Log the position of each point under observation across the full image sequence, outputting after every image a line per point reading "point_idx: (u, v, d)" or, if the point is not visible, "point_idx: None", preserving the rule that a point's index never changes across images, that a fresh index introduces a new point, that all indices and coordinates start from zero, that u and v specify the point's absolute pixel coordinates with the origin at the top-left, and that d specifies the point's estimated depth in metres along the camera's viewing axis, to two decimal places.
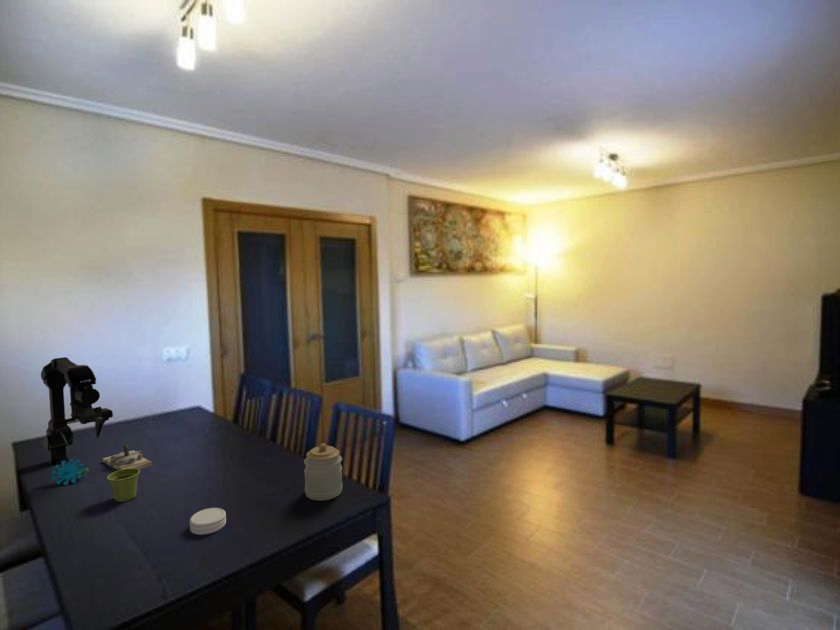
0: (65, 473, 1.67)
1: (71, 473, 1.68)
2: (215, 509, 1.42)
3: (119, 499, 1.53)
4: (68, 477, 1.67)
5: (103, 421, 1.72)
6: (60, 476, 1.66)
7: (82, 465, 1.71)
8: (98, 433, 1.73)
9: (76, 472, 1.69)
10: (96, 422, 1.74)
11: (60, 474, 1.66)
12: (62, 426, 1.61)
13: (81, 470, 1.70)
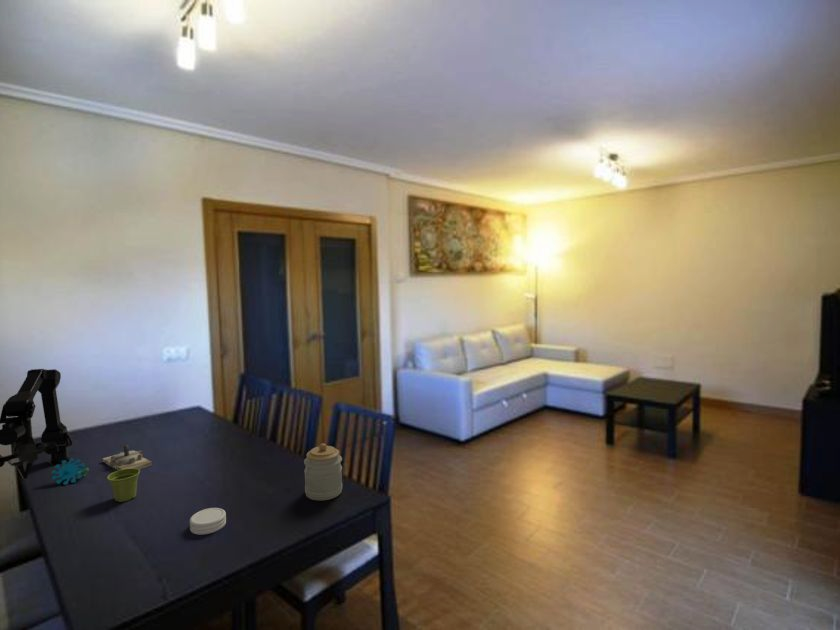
0: (65, 473, 1.67)
1: (71, 473, 1.68)
2: (215, 509, 1.42)
3: (119, 499, 1.53)
4: (68, 477, 1.67)
5: (31, 460, 1.57)
6: (60, 476, 1.66)
7: (82, 465, 1.71)
8: (26, 474, 1.58)
9: (76, 472, 1.69)
10: (24, 462, 1.58)
11: (60, 473, 1.67)
12: None
13: (81, 470, 1.70)
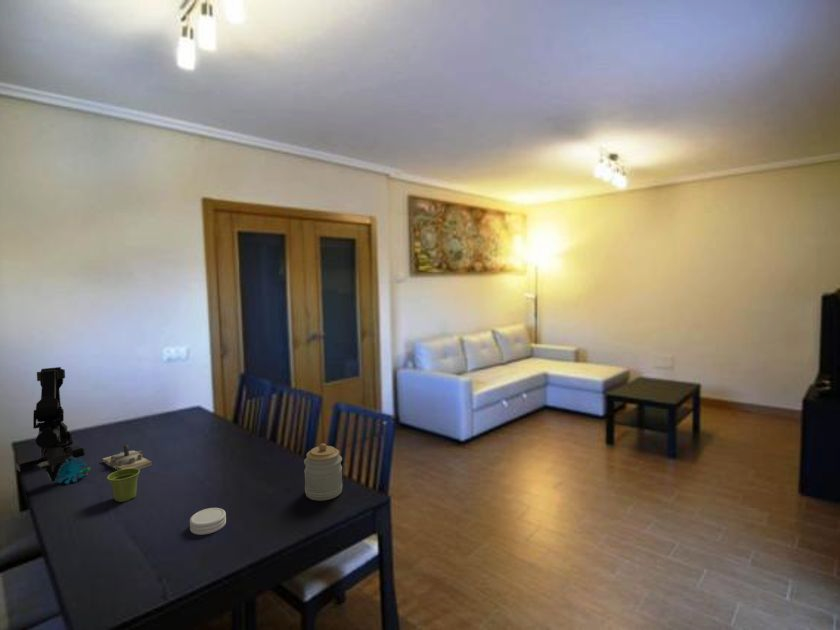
0: (67, 472, 1.68)
1: (73, 472, 1.69)
2: (215, 509, 1.42)
3: (119, 499, 1.53)
4: (69, 476, 1.68)
5: (59, 464, 1.64)
6: (62, 475, 1.67)
7: (84, 464, 1.72)
8: (54, 477, 1.64)
9: (78, 471, 1.69)
10: (52, 465, 1.65)
11: (62, 472, 1.67)
12: (29, 468, 1.56)
13: (83, 469, 1.70)
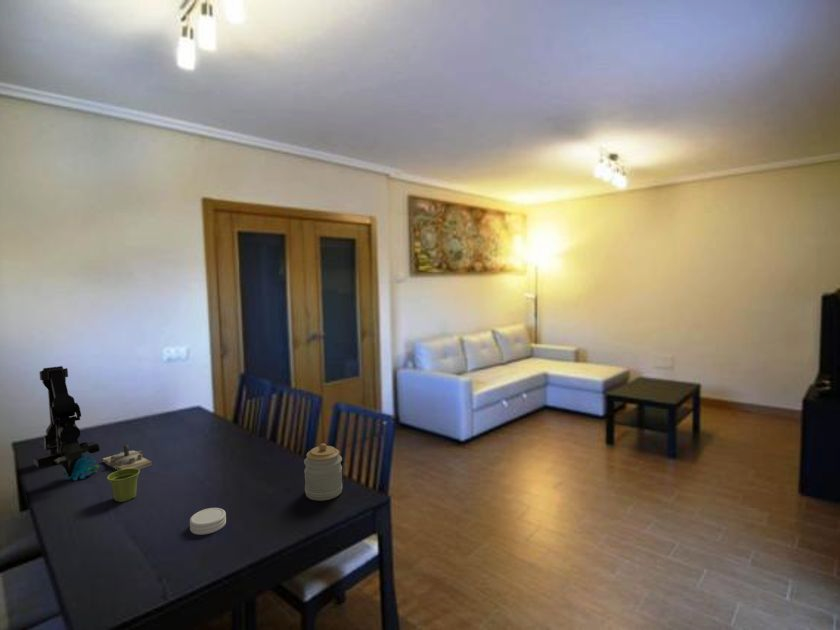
0: (76, 468, 1.71)
1: (81, 469, 1.72)
2: (215, 509, 1.42)
3: (119, 499, 1.53)
4: (78, 473, 1.70)
5: (75, 459, 1.67)
6: None
7: (93, 461, 1.74)
8: (70, 472, 1.68)
9: (86, 468, 1.72)
10: (69, 460, 1.69)
11: None
12: (47, 463, 1.60)
13: (91, 466, 1.73)
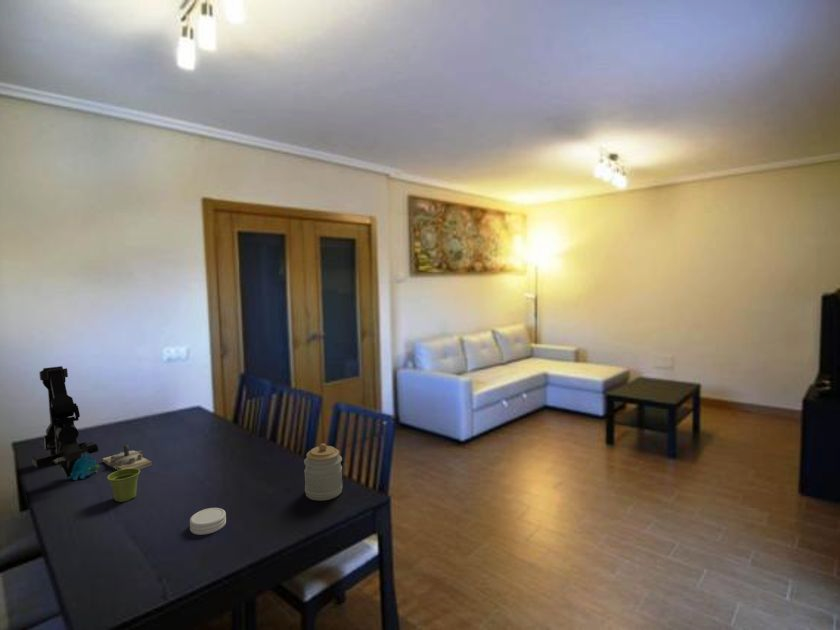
0: (76, 468, 1.71)
1: (82, 469, 1.72)
2: (215, 509, 1.42)
3: (119, 499, 1.53)
4: (78, 472, 1.71)
5: (74, 459, 1.67)
6: None
7: (93, 461, 1.74)
8: (69, 472, 1.68)
9: (86, 468, 1.72)
10: (67, 461, 1.69)
11: None
12: (46, 463, 1.60)
13: (91, 466, 1.73)
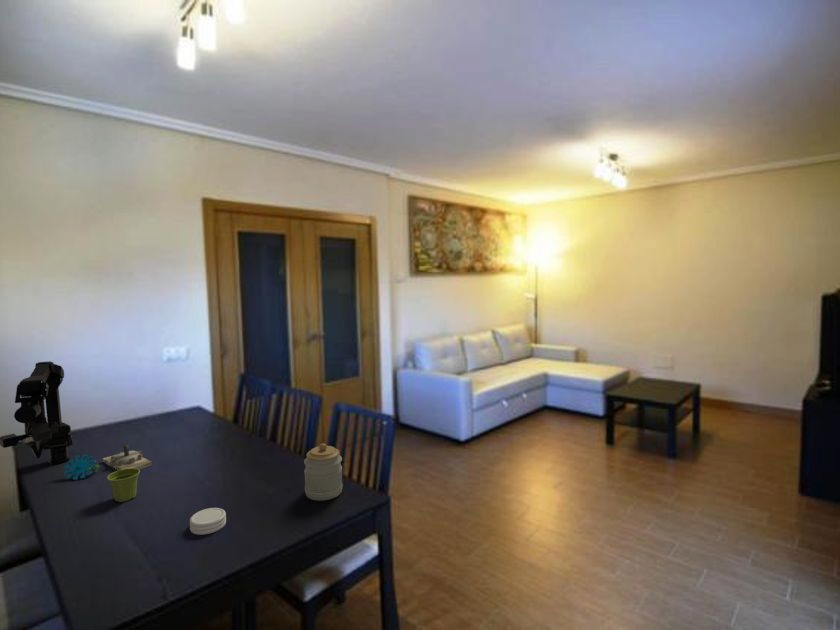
0: (76, 468, 1.71)
1: (82, 468, 1.72)
2: (215, 509, 1.42)
3: (119, 499, 1.53)
4: (78, 472, 1.71)
5: (44, 440, 1.60)
6: (71, 471, 1.71)
7: (93, 461, 1.74)
8: (39, 453, 1.60)
9: (86, 468, 1.72)
10: (37, 441, 1.61)
11: (72, 468, 1.71)
12: (13, 443, 1.53)
13: (91, 466, 1.73)
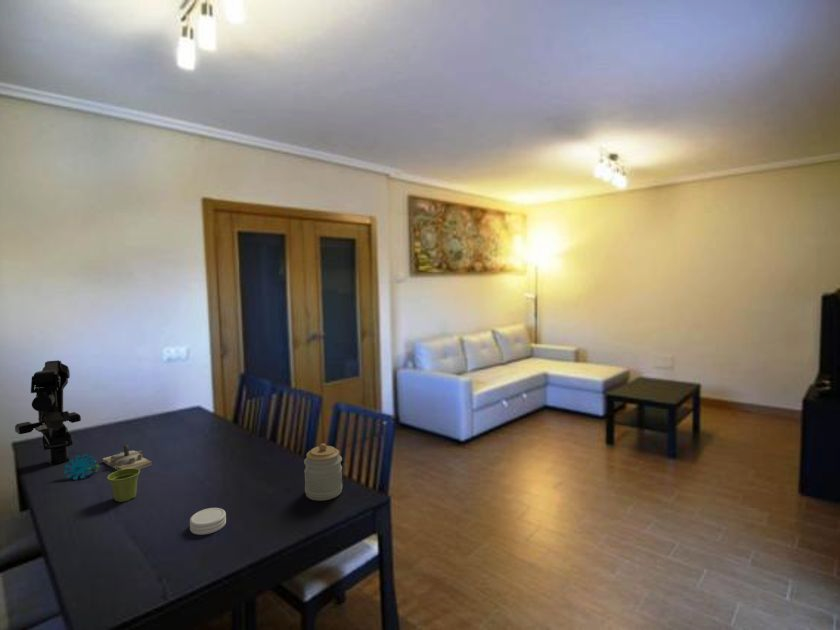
0: (76, 468, 1.72)
1: (82, 468, 1.72)
2: (215, 509, 1.42)
3: (119, 499, 1.53)
4: (78, 472, 1.71)
5: (56, 428, 1.72)
6: (71, 470, 1.71)
7: (93, 461, 1.75)
8: (52, 440, 1.73)
9: (86, 468, 1.73)
10: (50, 429, 1.74)
11: (72, 468, 1.71)
12: (28, 430, 1.65)
13: (91, 466, 1.73)
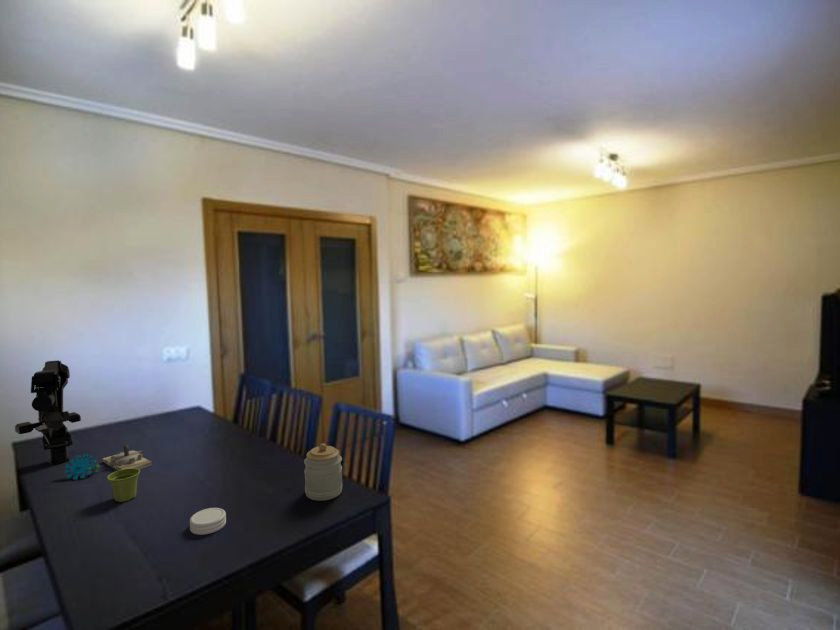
0: (77, 468, 1.72)
1: (82, 468, 1.72)
2: (215, 509, 1.42)
3: (119, 499, 1.53)
4: (78, 472, 1.71)
5: (56, 428, 1.72)
6: (72, 470, 1.71)
7: (94, 461, 1.75)
8: (52, 440, 1.73)
9: (87, 468, 1.73)
10: (50, 429, 1.74)
11: (72, 468, 1.71)
12: (28, 430, 1.65)
13: (91, 466, 1.73)
